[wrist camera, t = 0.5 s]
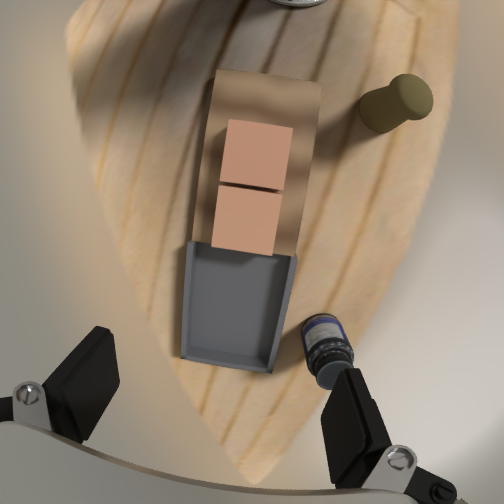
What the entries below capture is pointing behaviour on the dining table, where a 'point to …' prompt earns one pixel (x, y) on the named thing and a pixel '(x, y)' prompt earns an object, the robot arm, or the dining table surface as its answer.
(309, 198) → the dining table surface
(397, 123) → the cork
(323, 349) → the pill bottle
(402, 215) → the dining table surface
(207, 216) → the board
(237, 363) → the tray
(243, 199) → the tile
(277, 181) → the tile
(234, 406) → the dining table surface
